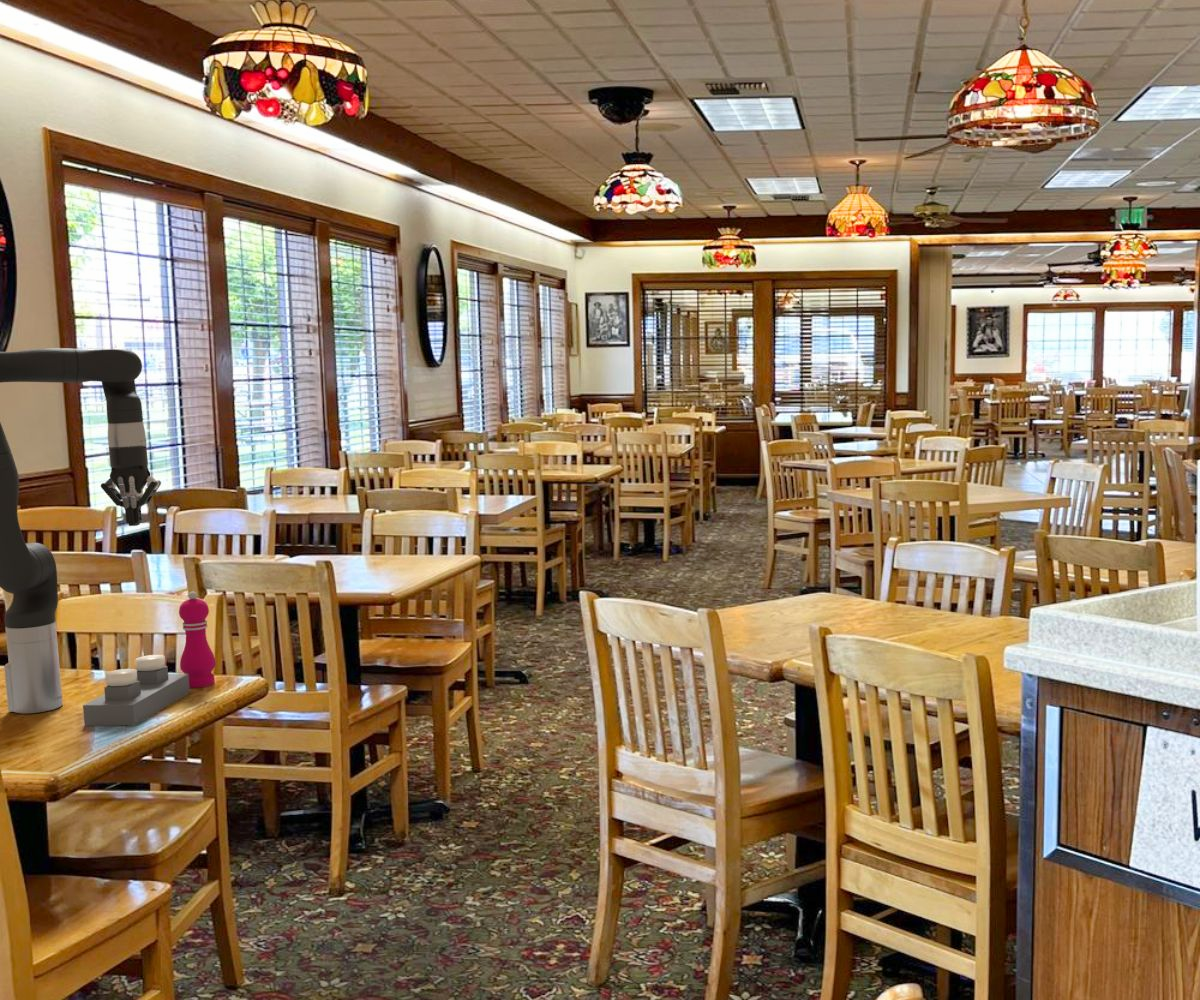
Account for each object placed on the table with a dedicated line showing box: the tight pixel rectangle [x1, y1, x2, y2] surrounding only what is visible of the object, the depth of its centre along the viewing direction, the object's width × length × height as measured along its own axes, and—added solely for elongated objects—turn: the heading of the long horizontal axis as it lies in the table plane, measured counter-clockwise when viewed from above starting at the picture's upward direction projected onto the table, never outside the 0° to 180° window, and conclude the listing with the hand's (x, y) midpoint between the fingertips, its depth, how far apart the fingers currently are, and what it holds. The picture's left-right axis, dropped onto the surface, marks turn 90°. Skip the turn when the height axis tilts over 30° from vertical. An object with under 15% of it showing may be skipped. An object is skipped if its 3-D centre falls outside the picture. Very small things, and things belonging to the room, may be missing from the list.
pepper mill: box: [178, 591, 217, 689], centre depth 271 cm, size 7×7×20 cm
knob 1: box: [105, 668, 137, 686], centre depth 247 cm, size 6×6×4 cm
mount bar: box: [82, 665, 191, 727], centre depth 253 cm, size 10×24×6 cm, turn 173°
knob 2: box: [134, 654, 166, 671], centre depth 259 cm, size 6×6×4 cm
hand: (134, 525), depth 272 cm, fingers closed
